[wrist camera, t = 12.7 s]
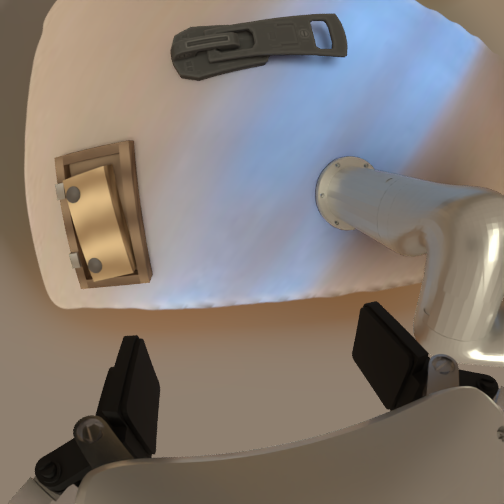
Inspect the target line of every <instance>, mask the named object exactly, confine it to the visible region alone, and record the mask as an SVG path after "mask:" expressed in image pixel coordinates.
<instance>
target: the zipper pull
mask: <svg viewBox="0 0 504 504" xmlns="http://www.w3.org/2000/svg"><path fill="white" fill-rule="evenodd" d="M311 21H324V22H325V23H326V25H327V27H328V29H329V33H330V36H331V40H332V49H320V48H318V47H316V43H315V39H314V35H313V31H312V28H311V24H310V22H311ZM270 55H317V56H332V57H345V56H347V40H346V35H345V32H344V29H343V26H342V24H341V22H340V20H339V19H338V17H337V16H336V14H311V15H299V16H289V17H280V18H272V19H265V20H259V21H253V22H247V23H240V24H233V25H215V26H198V27H190V28H188V29H186V30H184V31H182V32H181V33H179V34H177V35H175V36H174V39H173V43H172V47H171V57H172V62H173V65H174V67H175V69H176V70H177V72H178V73H179V75H180V77H181V78H184V79H191V80H197V81H200V80H204V79H207V78H210V77H214V76H217V75H221V74H225V73H229V72H233V71H238V70H242V69H247V68H252V67H257V66H262V65H265V64H266V62H267V61H268V59H269V57H270Z"/></svg>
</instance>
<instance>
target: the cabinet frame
mask: <svg viewBox="0 0 504 504" xmlns="http://www.w3.org/2000/svg"><path fill="white" fill-rule="evenodd" d="M111 164H112V166H113V171H114V175H115V180H116V184H117V188H118V192H119V196H120V200H121V204H122V208H123V212H124V216H125V219H126V223H127V226H128V230H129V233H130V237H131V240H132V246H133V251H134V256H135V260H136V265H137V266H136V268H135V270H134V272H133V273H131V274H126V275H122V276H117V277H113V278H108V279H104V280H99V281H95V282H94V281H93V278H92V276H91V273H90V270H89V268H88V265H87V262H86V260H85V257H84V254H83V251H82V248H81V245H80V242H79V239H78V236H77V233H76V229H75V226H74V223H73V219H72V216H71V212H70V209H69V205H68V201H67V198H66V193H65V189H64V185H63V180H66V179H68V178H71V177H74V176H76V175H79V174H82V173H84V172H87V171H90V170H93V169H96V168H99V167H102V166H106V165H111ZM55 167H56V176H57V183H58V184H56V185H55V187H56V194H57V200H60V203H61V209H62V214H63V220H64V225H65V229H66V234H67V238H68V243H69V247H70V251H71V253H70V254H69V257H70V260H71V264H72V268H75V270H76V273H77V277H78V280H79V283H80V287H81V289H86V288H97V287H108V286H119V285H130V284H140V283H150V280H151V277H152V270H151V265H150V260H149V254H148V249H147V243H146V238H145V232H144V226H143V219H142V213H141V206H140V198H139V191H138V182H137V173H136V164H135V153H134V141H123V142H118V143H113V144H108V145H104V146H99V147H95V148H91V149H86V150H82V151H78V152H75V153H71V154H67V155H63V156H60V157H56V158H55Z"/></svg>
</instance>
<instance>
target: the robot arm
mask: <svg viewBox="0 0 504 504" xmlns="http://www.w3.org/2000/svg"><path fill="white" fill-rule="evenodd" d="M335 164H336V167H335ZM320 194H321V196H320ZM316 203H317V206H318V209H319V212H320V213H321V215H322V217H323V218H324V219H325V220H326V221H327V222H328V223H329V224H331V225H332V226H334V227H336V228H338V229H341V230H354V229H358V230H359V231H361V232H363V233H364V234H366V235H368V236H369V237H371V238H373V239H374V240H376V241H378V242H379V243H381V244H383V245H384V246H386V247H388V248H389V249H391V250H393V251H394V252H396V253H398V254H400V255H403V256H410V257H414V256H420V255H423V254H426V253H427V258H426V264H425V272H424V277H423V282H422V287H421V291H420V295H419V299H418V303H417V308H416V312H415V317H414V324H413V331H414V336H415V339H416V340H415V339H414V338H413V337H412V336H411V335H410V333H409V332H407V331H406V329H405V328H403V326H401V325H400V323H399V322H398V321H397V320H396V319H394V317H393V316H391V315H390V314H389V313H388V312H387V311H386V310H385V309H384V308H383V307H382V306H381V305H380V304H379V303H378V302H371V303H366V304H364V306H363V308H361V309H360V315H359V320H358V326H357V331H356V337H355V342H354V347H353V351H352V356H353V359H354V361H355V363H356V364H357V366H358V367H359V368H360V370H361V371H362V373H363V374H364V376H365V377H366V379H367V380H368V382H369V383H370V385H371V386H372V388H373V389H374V391H375V392H376V394H377V395H378V397H379V398H380V400H381V401H382V403H383V405H384V406H385V407H386V409H390V410H391V411H390V412H387V413H385V414H382V415H380V416H378V417H375V418H372V419H369V420H367V421H364V422H361V423H358V424H355V425H352V426H349V427H346V428H343V429H340V430H337V431H333V432H330V433H327V434H323V435H319V436H316V437H312V438H308V439H304V440H300V441H296V442H291V443H287V444H282V445H277V446H272V447H267V448H261V449H255V450H249V451H242V452H235V453H226V454H216V455H204V456H190V457H169V458H167V457H166V458H151V456H152V454H155V452H156V435H157V421H158V408H159V397H160V385H159V381H158V379H157V376H156V374H155V371H154V368H153V366H152V363H151V360H150V357H149V354H148V352H147V349H146V346H145V343H144V340H143V339H139V337H138V336H137V335H136V336H124V338H123V341H122V344H121V347H120V350H119V353H118V356H117V359H116V363H115V366H114V367H111V368H110V369H109V371H108V374H107V377H106V380H105V384H104V387H103V391H102V394H101V398H100V401H99V405H98V408H97V412H96V416H94V415H90V416H86V417H83V418H82V419H80V420H79V421H78V422H77V423H76V424H75V426H74V429H73V436H74V438H73V439H72V440H70V441H69V442H67V443H65V444H64V445H62V446H61V447H59V448H57V449H56V450H54V451H52V452H51V453H49V454H47V455H46V456H44V457H42V458H41V459H40V460H39V461H38V462H37V464H36V467H35V475H36V476H35V477H34V479H32V478H31V477H30V478H29V479H28V480H27V482H26V483H25V484H24V485H23V486H22V487H21V488H20V490H19V491H18V492H17V493H16V494H15V495H14V496H13V497H12V499H11V500H10V501H9V503H8V504H504V387H503V386H501V387H500V388H498V384H497V382H496V380H495V379H494V378H492V377H491V376H489V375H485V374H480V373H474V372H469V371H464V370H459V368H458V364H457V363H464V364H474V365H484V366H498V367H504V298H503V297H504V195H502V194H501V193H499V192H497V191H494V190H492V189H489V188H484V187H478V186H465V185H451V184H442V183H436V182H431V181H426V180H422V179H417V178H413V177H408V176H403V175H398V174H394V173H389V172H384V171H379V170H375V169H374V168H373V167H372V165H371V164H370V163H368V162H367V161H365V160H364V159H361V158H358V157H351V156H346V157H341V158H338V159H336V160H334V161H332V162H331V163H330V164H328V166H327V167H326V168H325V169H324V170H323V172H322V173H321V175H320V177H319V179H318V182H317V187H316ZM335 221H336V222H335ZM502 300H503V301H502ZM428 354H431V355H433V356H432V357H431V359H430V358H429V357H428Z"/></svg>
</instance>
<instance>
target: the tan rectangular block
mask: <svg viewBox="0 0 504 504" xmlns="http://www.w3.org/2000/svg"><path fill="white" fill-rule="evenodd" d="M63 185H64V189H65V193H66V198H67V201H68V205H69V209H70V212H71V216H72V219H73V223H74V226H75V229H76V233H77V236H78V239H79V242H80V245H81V248H82V251H83V254H84V257H85V260H86V262H87V265H88V268H89V270H90V273H91V276H92V278H93V281H94V282H95V281H99V280H104V279H108V278H113V277H117V276H122V275H126V274H131V273H133V272H134V270H135V268H136V266H137V265H136V260H135V256H134V251H133V246H132V240H131V237H130V233H129V230H128V226H127V223H126V219H125V216H124V212H123V208H122V204H121V200H120V196H119V192H118V188H117V184H116V180H115V175H114V171H113V166H112V164H111V165H106V166H102V167H99V168H96V169H93V170H90V171H87V172H84V173H82V174H79V175H76V176H74V177H71V178H68V179H66V180H63Z"/></svg>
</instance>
